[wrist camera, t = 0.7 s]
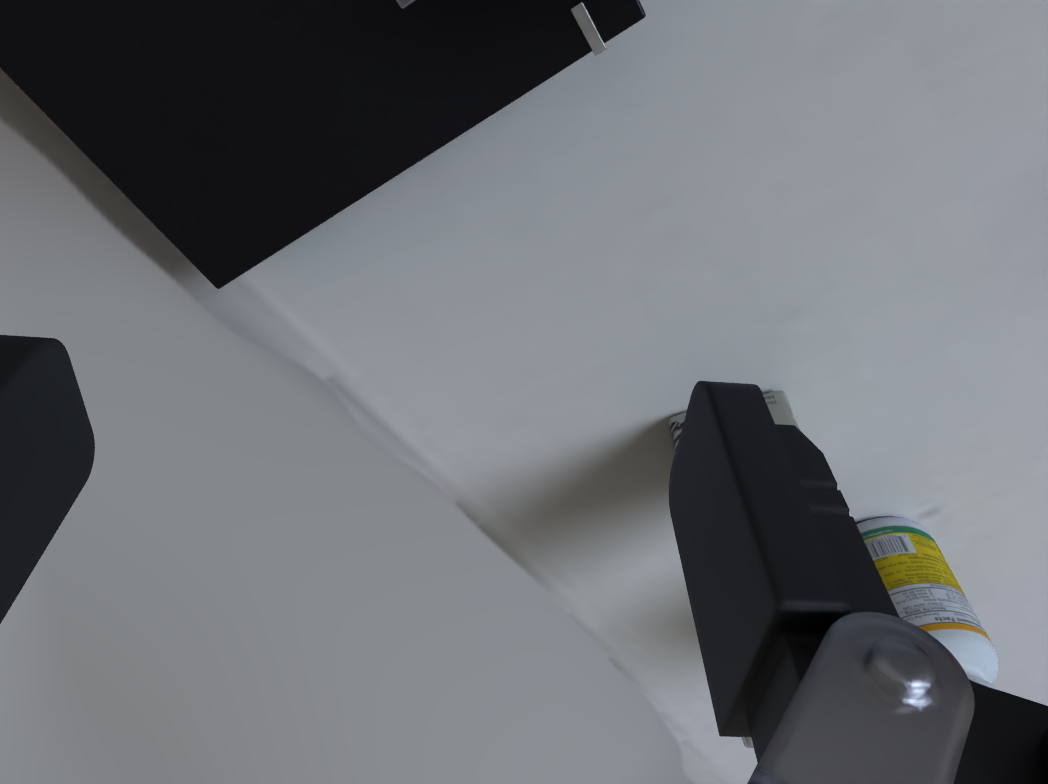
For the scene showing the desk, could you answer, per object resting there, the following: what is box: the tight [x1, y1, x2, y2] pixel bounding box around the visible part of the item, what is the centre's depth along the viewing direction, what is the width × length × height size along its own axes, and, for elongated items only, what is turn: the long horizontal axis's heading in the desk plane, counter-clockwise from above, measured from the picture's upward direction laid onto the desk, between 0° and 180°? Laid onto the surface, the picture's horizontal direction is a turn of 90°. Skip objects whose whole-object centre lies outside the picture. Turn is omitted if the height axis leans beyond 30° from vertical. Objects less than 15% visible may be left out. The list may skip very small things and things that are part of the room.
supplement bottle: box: [856, 517, 998, 690], centre depth 36 cm, size 5×5×10 cm
